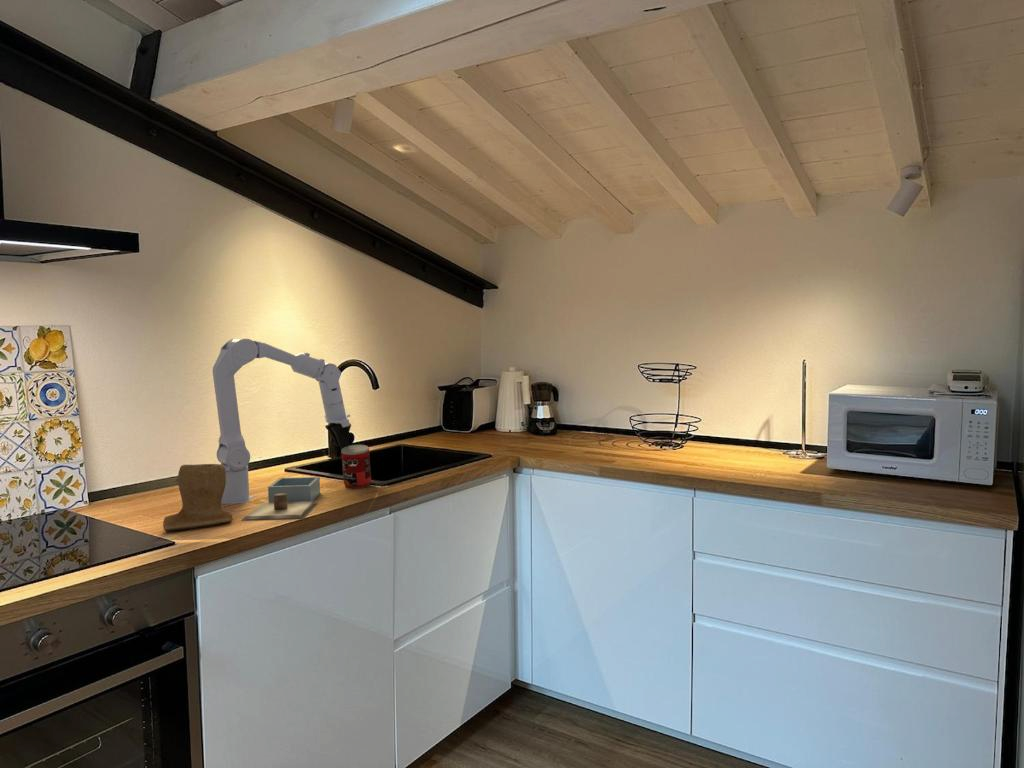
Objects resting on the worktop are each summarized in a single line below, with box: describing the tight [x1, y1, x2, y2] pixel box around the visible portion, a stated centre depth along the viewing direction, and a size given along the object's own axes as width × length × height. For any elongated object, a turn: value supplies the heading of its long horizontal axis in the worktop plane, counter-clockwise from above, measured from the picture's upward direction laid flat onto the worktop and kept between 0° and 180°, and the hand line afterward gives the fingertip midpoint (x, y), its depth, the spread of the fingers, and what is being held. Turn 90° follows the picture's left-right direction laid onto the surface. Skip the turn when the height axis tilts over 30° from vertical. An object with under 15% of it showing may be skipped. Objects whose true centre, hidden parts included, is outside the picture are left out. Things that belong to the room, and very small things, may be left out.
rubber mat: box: [240, 502, 318, 522], centre depth 173 cm, size 15×15×1 cm
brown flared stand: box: [162, 463, 233, 532], centre depth 162 cm, size 15×12×15 cm
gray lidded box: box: [267, 476, 321, 503], centre depth 186 cm, size 11×11×5 cm
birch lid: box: [245, 493, 314, 519], centre depth 172 cm, size 13×13×4 cm
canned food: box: [340, 444, 372, 489], centre depth 202 cm, size 8×8×11 cm
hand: (342, 447), depth 204 cm, fingers open, 3 cm apart
